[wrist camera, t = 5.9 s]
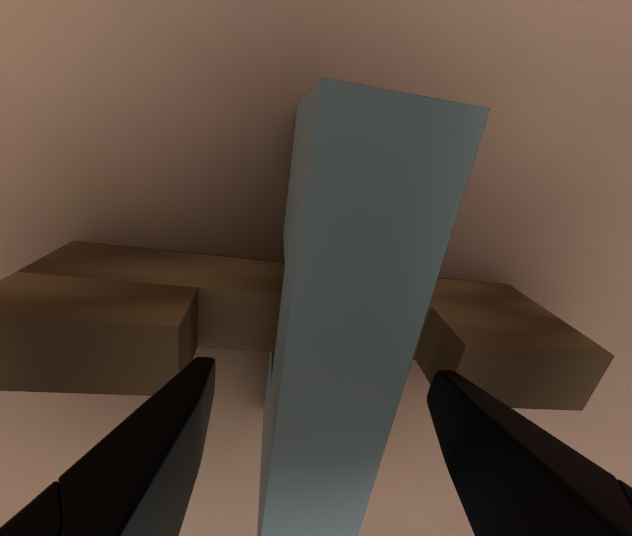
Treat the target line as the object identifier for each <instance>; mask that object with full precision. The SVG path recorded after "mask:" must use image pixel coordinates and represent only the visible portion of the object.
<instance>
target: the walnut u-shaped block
mask: <svg viewBox="0 0 632 536" xmlns="http://www.w3.org/2000/svg"><path fill="white" fill-rule="evenodd" d="M284 269H285V263H283V262H273V261H263V260H253V259H243V258H233V257H223V256H213V255H203V254H193V253H183V252H173V251H163V250H153V249H143V248H133V247H123V246H113V245H103V244H92V243H82V242H70V243H68V244H67V245H65V246H63V247H61V248H59V249H57V250H56V251H54V252H52V253H50V254H48V255H46V256H44V257H43V258H41V259H39V260H37V261H35V262H33V263H32V264H30V265H28V266H26V267H24V268H22V269H21V270H19V271H17V272H15V273H13V274H11V275H10V276H8V277H6V278H4V279H2V280H0V391H29V392H58V393H87V394H116V395H145V396H152V395H154V394H155V393H156V392H157V391H158V390H159V389H160V388H162V387H163V386H164V385H165V384H166V383H167V382H168V381H170V380H171V379H172V378H173V377H174V376H175V375H176V374H178V373H179V372H180V371H181V370H182V369H183V368H184V367H186V366H187V365H188V364H189V363H190V362H191V361H192V360H193V357H194V355H195V352H196V349H197V347H207V348H224V349H242V350H259V351H275V346H276V337H277V329H278V320H279V312H280V303H281V295H282V286H283V278H284ZM613 358H614V355H613V354H611V353H610V352H608V351H607V350H605V349H604V348H602V347H601V346H599V345H598V344H596V343H595V342H594V341H592V340H591V339H589V338H588V337H586V336H585V335H583V334H582V333H580V332H579V331H577V330H576V329H574V328H573V327H571V326H570V325H568V324H567V323H565V322H564V321H562V320H561V319H559V318H558V317H556V316H555V315H553V314H552V313H550V312H549V311H547V310H546V309H544V308H543V307H541V306H540V305H538V304H537V303H535V302H534V301H532V300H531V299H529V298H528V297H526V296H525V295H523V294H522V293H520V292H519V291H518V290H516V289H515V288H513V287H512V286H510V285H504V284H494V283H484V282H474V281H464V280H454V279H444V278H437V281H436V284H435V288H434V291H433V294H432V297H431V300H430V304H429V307H428V310H427V313H426V317H425V320H424V323H423V326H422V330H421V333H420V336H419V339H418V343H417V346H416V349H415V352H414V355H413V359H416V361H417V363H418V364H419V366H420V368H421V369H422V371H423V373H424V374H425V376H426V378H427V379H428V381H429V383H430V384H431V383H432V380H433V377H434V375H435V373H436V371H438V370H453V371H455V372H457V373H458V374H460V375H461V376H463V377H464V378H466V379H467V380H469V381H470V382H472V383H474V384H475V385H477V386H478V387H480V388H481V389H483V390H484V391H486V392H487V393H489V394H490V395H492V396H493V397H495V398H496V399H498V400H499V401H501V402H502V403H504V404H505V405H507V406H508V407H510V408H525V409H554V410H583V408H584V407H585V405H586V403H587V401H588V400H589V398H590V396H591V395H592V393H593V391H594V390H595V388H596V386H597V385H598V383H599V381H600V380H601V378H602V376H603V375H604V373H605V371H606V369H607V368H608V366H609V364H610V363H611V361H612V359H613Z"/></svg>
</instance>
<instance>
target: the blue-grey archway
mask: <svg viewBox="0 0 632 536" xmlns="http://www.w3.org/2000/svg"><path fill="white" fill-rule="evenodd" d="M489 110H490V108H484V107H479V106H474V105H468V104H463V103H457V102H452V101H446V100H441V99H435V98H430V97H425V96H419V95H414V94H408V93H403V92H397V91H392V90H386V89H381V88H376V87H370V86H365V85H359V84H354V83H348V82H343V81H338V80H332V79H327V78H320V80H319V81H318V82H317V83H316V84H315V86H314V87H313V88H312V89H311V90H310V92H309V93H308V94H307V95H306V97H305V98H304V99H303V100H302V101H301V103H300V104H299V105H298V106H297V113H296V122H295V131H294V140H293V149H292V158H291V167H290V176H289V185H288V194H287V203H286V212H285V221H284V230H283V240H284V260H285V269H284V278H283V286H282V295H281V303H280V312H279V320H278V329H277V337H276V346H275V351H270V357H269V366H268V375H267V384H266V393H265V402H264V415H263V434H262V454H261V473H260V493H259V513H258V532H257V536H358V533H359V530H360V527H361V524H362V520H363V517H364V514H365V511H366V507H367V504H368V501H369V498H370V494H371V491H372V488H373V485H374V482H375V478H376V475H377V472H378V469H379V465H380V462H381V459H382V456H383V452H384V449H385V446H386V443H387V440H388V436H389V433H390V430H391V427H392V423H393V420H394V417H395V414H396V410H397V407H398V404H399V401H400V397H401V394H402V391H403V388H404V385H405V381H406V378H407V375H408V372H409V368H410V365H411V362H412V359H413V355H414V352H415V349H416V346H417V343H418V339H419V336H420V333H421V330H422V326H423V323H424V320H425V317H426V313H427V310H428V307H429V304H430V300H431V297H432V294H433V291H434V288H435V284H436V281H437V278H438V275H439V271H440V268H441V265H442V262H443V258H444V255H445V252H446V249H447V246H448V242H449V239H450V236H451V233H452V229H453V226H454V223H455V220H456V216H457V213H458V210H459V207H460V203H461V200H462V197H463V194H464V191H465V187H466V184H467V181H468V178H469V174H470V171H471V168H472V165H473V161H474V158H475V155H476V152H477V149H478V145H479V142H480V139H481V136H482V132H483V129H484V126H485V123H486V119H487V116H488V113H489Z"/></svg>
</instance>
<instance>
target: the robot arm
mask: <svg viewBox="0 0 632 536" xmlns="http://www.w3.org/2000/svg"><path fill="white" fill-rule="evenodd" d="M215 366H216V362H215V359H214V358H211V357H197V358H195V359H194V360H192V361H191V362H190V363H189V364H188V365H187V366H186V367H184V368H183V369H182V370H181V371H180V372H179V373H178V374H176V375H175V376H174V377H173V378H172V379H171V380H170V381H168V382H167V383H166V384H165V385H164V386H163V387H162V388H160V389H159V390H158V391H157V392H156V393H155V394H154V395H152V396H151V397H150V398H149V399H148V400H147V401H146V402H144V403H143V404H142V405H141V406H140V407H139V408H138V409H136V410H135V411H134V412H133V413H132V414H131V415H130V416H129V417H127V418H126V419H125V420H124V421H123V422H122V423H121V424H119V425H118V426H117V427H116V428H115V429H114V430H113V431H111V432H110V433H109V434H108V435H107V436H106V437H105V438H103V439H102V440H101V441H100V442H99V443H98V444H97V445H95V446H94V447H93V448H92V449H91V450H90V451H89V452H87V453H86V454H85V455H84V456H83V457H82V458H81V459H79V460H78V461H77V462H76V463H75V464H74V465H73V466H71V467H70V468H69V469H68V470H67V471H66V472H65V473H63V474H62V475H61V476H60V477H59V479H58V482H59V483H58V482H57V481H55V482H53V483H52V484H51V485H49V486H48V487H47V488H46V489H45V490H44V491H43V492H41V493H40V494H39V495H38V496H37V497H36V498H35V499H33V500H32V501H31V502H30V503H29V504H28V505H26V506H25V507H24V508H23V509H22V510H21V511H19V512H18V513H17V514H16V515H15V516H13V517H12V518H11V519H10V520H9V521H7V522H6V523H5V524H4V525H3V526H2V527H0V536H179V533H180V529H181V526H182V523H183V520H184V516H185V513H186V510H187V507H188V503H189V500H190V497H191V494H192V490H193V487H194V484H195V481H196V477H197V474H198V470H199V467H200V463H201V459H202V454H203V449H204V444H205V438H206V433H207V428H208V423H209V417H210V412H211V407H212V401H213V396H214V388H215ZM427 404H428V408H429V411H430V414H431V417H432V421H433V424H434V427H435V431H436V434H437V437H438V440H439V444H440V447H441V450H442V454H443V457H444V460H445V463H446V466H447V468H448V471H449V473H450V476H451V479H452V481H453V483H454V486H455V488H456V491H457V493H458V496H459V498H460V500H461V503H462V505H463V508H464V510H465V513H466V515H467V518H468V520H469V522H470V525H471V527H472V530H473V532H474V535H475V536H632V487H630V486H629V485H627V484H626V483H624V482H622V481H621V480H617V479H616V478H615V476H613V475H612V474H610V473H609V472H607V471H606V470H604V469H603V468H601V467H600V466H598V465H597V464H595V463H593V462H592V461H590V460H589V459H587V458H586V457H584V456H583V455H581V454H580V453H578V452H577V451H575V450H574V449H572V448H571V447H569V446H568V445H566V444H565V443H563V442H562V441H560V440H559V439H557V438H555V437H554V436H552V435H551V434H549V433H548V432H546V431H545V430H543V429H542V428H540V427H539V426H537V425H536V424H534V423H533V422H531V421H530V420H528V419H527V418H525V417H524V416H522V415H521V414H519V413H518V412H516V411H514V410H513V409H511V408H510V407H508V406H507V405H505V404H504V403H502V402H501V401H499V400H498V399H496V398H495V397H493V396H492V395H490V394H489V393H487V392H486V391H484V390H483V389H481V388H480V387H478V386H477V385H475V384H474V383H472V382H470V381H469V380H467V379H466V378H464V377H463V376H461V375H460V374H458V373H457V372H455V371H453V370H438V371H436V373H435V375H434V377H433V380H432V383H431V386H430V389H429V391H428V395H427Z"/></svg>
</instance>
